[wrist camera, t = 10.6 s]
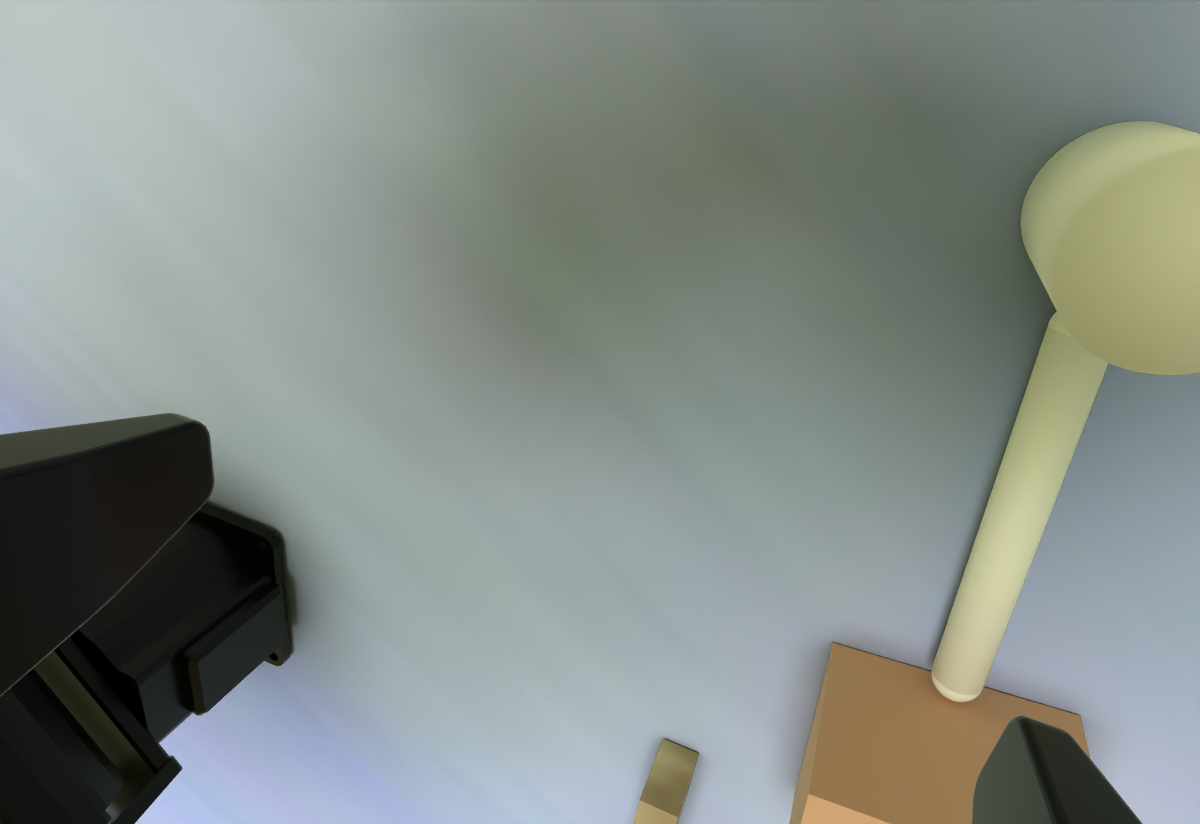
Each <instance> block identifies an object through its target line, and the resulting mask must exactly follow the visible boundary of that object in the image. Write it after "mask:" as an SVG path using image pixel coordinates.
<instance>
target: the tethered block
mask: <svg viewBox="0 0 1200 824" xmlns="http://www.w3.org/2000/svg"><path fill="white" fill-rule="evenodd" d="M1020 226H1021V235H1022V240H1023V244H1024V246H1025V249H1026V251H1027V254H1028V256H1029V258H1030V259H1031V261H1032V263H1033V265H1034V267H1035V269H1036V271H1037V273H1038V275H1039V277H1040V279H1041V281H1042V283H1043V285H1044V287H1045V289H1046V291H1047V293H1048V295H1049V297H1050V299H1051V301H1052V302H1053V304H1054V306H1055V308H1056V310H1057V311H1056V312H1055V313H1054V315H1053V316H1052V317H1051V319H1050V321H1049V323H1048V327H1047V330H1046V333H1045V335H1044V338H1043V341H1042V344H1041V347H1040V350H1039V353H1038V356H1037V359H1036V362H1035V365H1034V368H1033V371H1032V374H1031V377H1030V380H1029V383H1028V386H1027V389H1026V392H1025V395H1024V397H1023V400H1022V403H1021V406H1020V409H1019V412H1018V415H1017V418H1016V421H1015V424H1014V427H1013V430H1012V433H1011V436H1010V439H1009V442H1008V445H1007V448H1006V451H1005V454H1004V457H1003V460H1002V462H1001V465H1000V468H999V471H998V474H997V477H996V480H995V483H994V486H993V489H992V492H991V495H990V498H989V501H988V504H987V507H986V510H985V513H984V516H983V519H982V522H981V524H980V527H979V530H978V533H977V536H976V539H975V542H974V545H973V548H972V551H971V554H970V557H969V560H968V563H967V566H966V569H965V572H964V575H963V578H962V581H961V584H960V586H959V589H958V592H957V595H956V598H955V601H954V604H953V607H952V610H951V613H950V616H949V619H948V622H947V625H946V628H945V631H944V634H943V637H942V640H941V643H940V646H939V649H938V651H937V654H936V657H935V660H934V663H933V666H932V672H931V671H927V670H924V669H920V668H917V667H914V666H910V665H907V664H903V663H900V662H897V661H893V660H890V659H887V658H883V657H880V656H876V655H873V654H870V653H866V652H863V651H859V650H856V649H853V648H849V647H846V646H843V645H839V644H836V643H833V644H832V648H831V652H830V656H829V660H828V664H827V668H826V672H825V675H824V679H823V683H822V687H821V691H820V695H819V699H818V703H817V707H816V711H815V715H814V719H813V723H812V727H811V731H810V735H809V739H808V742H807V746H806V750H805V754H804V758H803V762H802V766H801V770H800V774H799V778H798V782H797V786H796V790H795V795H794V801H793V807H792V812H791V818H790V823H789V824H972V813H973V796H974V790H975V786H976V782H977V779H978V776H979V774H980V772H981V770H982V768H983V766H984V764H985V763H986V761H987V759H988V757H989V756H990V754H991V752H992V750H993V749H994V747H995V745H996V743H997V742H998V740H999V738H1000V736H1001V735H1002V733H1003V731H1004V729H1005V728H1006V726H1007V724H1008V723H1009V722H1010V721H1011V720H1012V719H1013V718H1014V717H1017V716H1027V717H1030V718H1032V719H1035V720H1038V721H1041V722H1044V723H1047V724H1049V725H1052V726H1055V727H1058V728H1060V729H1063V730H1064V731H1066V732H1067V733H1069V734H1070V735H1071V736H1072V737H1073V738H1074V739H1075V741H1076V742H1077V743H1078V744H1079V746H1080V747H1081V748H1082V749H1083V750H1084V752H1085V753H1086V754H1087V755H1088V757H1089V758H1090V756H1089V752H1088V748H1087V743H1086V739H1085V735H1084V730H1083V726H1082V722H1081V717H1080V716H1079V715H1076V714H1073V713H1069V712H1066V711H1063V710H1059V709H1056V708H1052V707H1049V706H1046V705H1042V704H1039V703H1035V702H1032V701H1029V700H1025V699H1022V698H1019V697H1015V696H1012V695H1008V694H1005V693H1002V692H998V691H995V690H991V689H988V688H985V687H984V685H985V682H986V679H987V677H988V674H989V672H990V669H991V667H992V664H993V661H994V659H995V656H996V654H997V651H998V648H999V646H1000V643H1001V641H1002V638H1003V635H1004V633H1005V630H1006V628H1007V625H1008V623H1009V620H1010V617H1011V615H1012V612H1013V610H1014V607H1015V604H1016V602H1017V599H1018V597H1019V594H1020V591H1021V589H1022V586H1023V584H1024V581H1025V578H1026V576H1027V573H1028V571H1029V568H1030V566H1031V563H1032V560H1033V558H1034V555H1035V553H1036V550H1037V547H1038V545H1039V542H1040V540H1041V537H1042V534H1043V532H1044V529H1045V527H1046V524H1047V521H1048V519H1049V516H1050V514H1051V511H1052V509H1053V506H1054V503H1055V501H1056V498H1057V496H1058V493H1059V490H1060V488H1061V485H1062V483H1063V480H1064V477H1065V475H1066V472H1067V470H1068V467H1069V464H1070V462H1071V459H1072V457H1073V454H1074V452H1075V449H1076V446H1077V444H1078V441H1079V439H1080V436H1081V433H1082V431H1083V428H1084V426H1085V423H1086V420H1087V418H1088V415H1089V413H1090V410H1091V408H1092V405H1093V402H1094V400H1095V397H1096V395H1097V392H1098V389H1099V387H1100V384H1101V382H1102V379H1103V376H1104V374H1105V371H1106V369H1107V366H1108V363H1110V364H1112V365H1115V366H1118V367H1121V368H1123V369H1126V370H1131V371H1135V372H1139V373H1145V374H1154V375H1184V374H1195V373H1200V134H1199V133H1196V132H1192V131H1189V130H1185V129H1181V128H1178V127H1174V126H1171V125H1167V124H1164V123H1158V122H1151V121H1130V122H1121V123H1116V124H1112V125H1107V126H1104V127H1101V128H1098V129H1095V130H1093V131H1090V132H1088V133H1086V134H1084V135H1082V136H1080V137H1078V138H1077V139H1075V140H1073V141H1071V142H1070V143H1068V144H1067V145H1066V146H1064V147H1063V148H1062V149H1060V150H1059V151H1058V152H1057V153H1056V154H1054V155H1053V156H1052V157H1051V158H1050V159H1049V160H1048V161H1047V162H1046V163H1045V165H1044V166H1043V167H1042V168H1041V169H1040V171H1039V172H1038V173H1037V175H1036V176H1035V178H1034V179H1033V181H1032V183H1031V185H1030V187H1029V189H1028V191H1027V193H1026V196H1025V199H1024V202H1023V206H1022V210H1021V220H1020Z"/></svg>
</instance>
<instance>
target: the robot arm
mask: <svg viewBox="0 0 1200 824" xmlns="http://www.w3.org/2000/svg"><path fill="white" fill-rule="evenodd" d="M213 487H214V472H213V462H212V452H211V443H210V435H209V432H208V430H207V428H206V426H205V425H203V424H202V423H201V422H199V421H196V420H193V419H190V418H188V417H185V416H182V415H179V414H173V413H166V414H158V415H151V416H143V417H135V418H127V419H119V420H112V421H104V422H96V423H88V424H80V425H73V426H65V427H57V428H49V429H41V430H34V431H26V432H18V433H10V434H3V435H0V824H135V822H136V821H137V820H138V819H139V818H140V817H141V816H142V814H143V813H144V812H145V811H146V810H147V809H148V808H149V806H150V805H151V804H152V803H153V802H154V801H155V800H156V798H157V797H158V796H159V795H160V794H161V793H162V792H163V790H164V789H165V788H166V787H167V786H168V785H169V783H170V782H171V781H172V780H173V779H174V778H175V777H176V775H177V774H178V773H179V772H180V771H181V770H182V766H181V765H180V764H179V763H178V761H177V760H176V759H175V758H174V756H169V755H168V754H167V753H166V752H165V751H164V749H163V748H162V747H161V746H160V744H159V742H161V741H162V740H163V739H164V738H165V737H166V736H167V735H168V734H169V733H171V732H172V731H173V730H174V729H175V728H176V727H177V726H178V725H180V724H181V723H182V722H183V721H184V720H185V719H186V718H187V717H189V716H190V715H191V714H192V713H194V714H196V715H202V714H204V713H206V712H208V711H209V710H210V709H211V708H212V707H213V706H214V705H216V704H217V703H218V702H219V701H220V700H221V699H222V698H223V697H224V696H225V695H227V694H228V693H229V692H230V691H231V690H232V689H233V688H234V687H235V686H236V685H238V684H239V683H240V682H241V681H242V680H243V679H244V678H245V677H246V676H247V675H249V674H250V673H251V672H252V671H253V670H254V669H255V668H256V667H257V666H258V665H260V664H261V663H262V662H263V661H266V662H269V663H271V664H273V665H276V666H281V665H282V664H283V663H284V662H285V661H286V660H287V659H288V658H289V657H290V644H289V632H288V620H287V608H286V596H285V584H284V572H283V560H282V548H281V542H280V540H279V538H278V537H277V535H276V534H275V533H274V532H272V531H270V530H268V529H266V528H263V527H261V526H258V525H256V524H253V523H251V522H248V521H246V520H244V519H241V518H239V517H236V516H234V515H231V514H229V513H226V512H224V511H221V510H219V509H217V508H214V507H212V506H209V505H207V504H205V503H206V501H207V500H208V499H209V497H210V495H211V493H212V491H213ZM972 824H1142V822H1141V821H1140V820H1139V819H1138V818H1137V816H1136V815H1135V814H1134V813H1133V811H1132V810H1131V809H1130V808H1129V806H1128V805H1127V804H1126V803H1125V801H1124V800H1123V799H1122V798H1121V796H1120V795H1119V794H1118V793H1117V791H1116V790H1115V789H1114V788H1113V786H1112V785H1111V784H1110V783H1109V782H1108V780H1107V779H1106V778H1105V777H1104V775H1103V774H1102V773H1101V772H1100V770H1099V769H1098V768H1097V767H1096V765H1095V764H1094V763H1093V762H1092V760H1091V759H1090V758H1089V757H1088V755H1087V754H1086V753H1085V752H1084V750H1083V749H1082V748H1081V747H1080V746H1079V744H1078V743H1077V742H1076V741H1075V739H1074V738H1073V737H1072V736H1071V735H1070V734H1069V733H1067V732H1066V731H1064V730H1063V729H1060V728H1058V727H1055V726H1052V725H1049V724H1047V723H1044V722H1041V721H1038V720H1035V719H1032V718H1030V717H1027V716H1017V717H1014V718H1013V719H1012V720H1011V721H1010V722H1009V723H1008V724H1007V726H1006V728H1005V729H1004V731H1003V733H1002V735H1001V736H1000V738H999V740H998V742H997V743H996V745H995V747H994V749H993V750H992V752H991V754H990V756H989V757H988V759H987V761H986V763H985V764H984V766H983V768H982V770H981V772H980V774H979V776H978V779H977V782H976V786H975V790H974V796H973V813H972Z"/></svg>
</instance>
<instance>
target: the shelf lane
mask: <svg viewBox="0 0 1200 824" xmlns="http://www.w3.org/2000/svg"><path fill="white" fill-rule="evenodd" d="M698 754H699V753H696V752H694V751H692V750H689V749H687V748H685V747H682V746H680V745H678V744H675V743H673V742H670V741H668V740H666V739H663V741H662V744H661V746H660V749H659V751H658V754H657V757H656V759H655V762H654V764H653V767H652V770H651V772H650V775H649V777H648V780H647V783H646V785H645V788H644V790H643V793H642V795H641V798H640V801H639V805H638V809H637V813H636V817H635V821H634V824H678V821H679V818H680V815H681V811H682V808H683V805H684V801H685V798H686V795H687V791H688V788H689V785H690V781H691V778H692V775H693V771H694V768H695V765H696V761H697V758H698Z"/></svg>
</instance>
